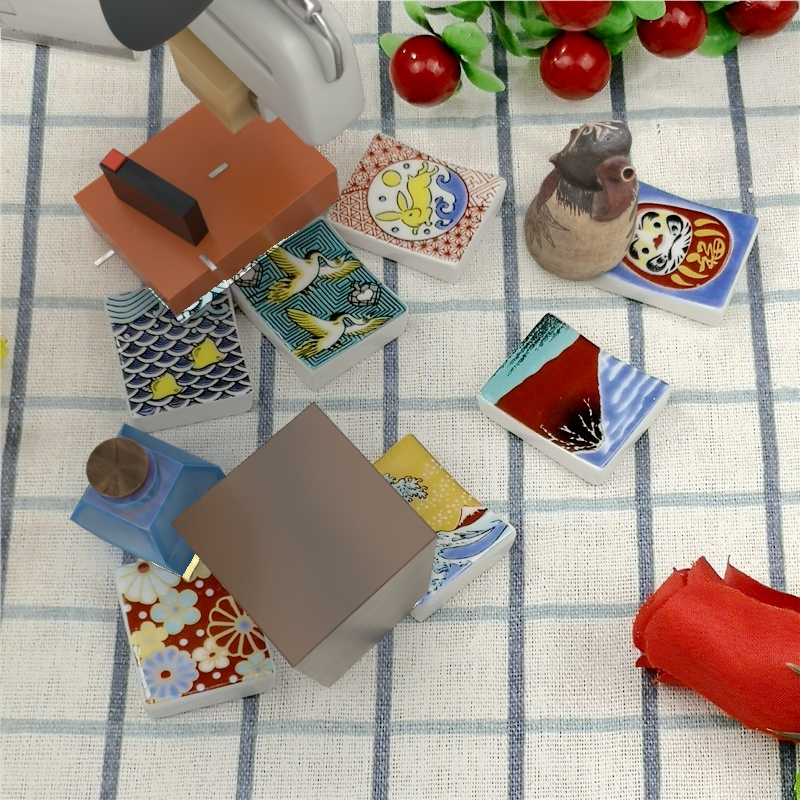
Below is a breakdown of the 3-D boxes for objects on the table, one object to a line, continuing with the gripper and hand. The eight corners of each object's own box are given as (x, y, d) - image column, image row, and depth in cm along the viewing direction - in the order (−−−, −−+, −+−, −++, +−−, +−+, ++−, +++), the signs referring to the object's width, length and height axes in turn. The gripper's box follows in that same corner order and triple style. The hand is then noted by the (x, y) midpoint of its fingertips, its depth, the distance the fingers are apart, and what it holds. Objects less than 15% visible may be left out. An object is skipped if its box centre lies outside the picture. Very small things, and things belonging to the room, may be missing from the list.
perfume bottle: (236, 491, 63) (199, 438, 52) (188, 581, 61) (140, 547, 50) (149, 451, 64) (94, 390, 53) (100, 539, 62) (32, 496, 51)
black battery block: (209, 231, 64) (196, 197, 60) (196, 247, 64) (182, 215, 60) (129, 181, 65) (111, 145, 61) (116, 197, 65) (97, 162, 61)
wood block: (233, 135, 59) (221, 94, 55) (180, 81, 60) (165, 37, 56) (298, 86, 60) (291, 42, 56) (245, 34, 61) (234, -13, 57)
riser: (328, 688, 59) (292, 668, 40) (242, 587, 61) (169, 522, 42) (428, 596, 61) (438, 535, 42) (340, 500, 63) (313, 400, 44)
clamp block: (162, 346, 66) (147, 322, 62) (65, 238, 69) (45, 208, 65) (343, 202, 70) (340, 170, 66) (244, 104, 72) (235, 67, 68)
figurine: (609, 179, 70) (649, 72, 59) (643, 269, 68) (691, 175, 56) (511, 203, 69) (531, 99, 58) (542, 294, 67) (570, 205, 56)
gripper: (391, -14, 44) (394, 157, 57) (109, -269, 49) (172, -58, 62) (281, 68, 43) (310, 224, 56) (2, -202, 48) (89, 0, 61)
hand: (235, 74), depth 59 cm, fingers closed on wood block, 5 cm apart
